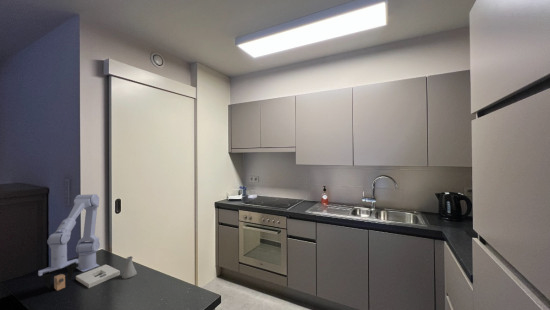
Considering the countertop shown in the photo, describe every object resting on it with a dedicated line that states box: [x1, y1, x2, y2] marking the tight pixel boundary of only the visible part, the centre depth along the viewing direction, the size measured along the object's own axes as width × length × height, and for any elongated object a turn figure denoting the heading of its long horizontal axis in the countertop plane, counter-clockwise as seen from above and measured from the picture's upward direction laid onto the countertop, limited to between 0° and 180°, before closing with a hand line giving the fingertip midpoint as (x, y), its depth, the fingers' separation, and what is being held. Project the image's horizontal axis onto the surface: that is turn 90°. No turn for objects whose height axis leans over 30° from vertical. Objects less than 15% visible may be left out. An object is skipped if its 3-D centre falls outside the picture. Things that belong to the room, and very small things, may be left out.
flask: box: [121, 256, 138, 280], centre depth 120 cm, size 7×7×10 cm
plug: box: [53, 273, 66, 291], centre depth 109 cm, size 5×3×6 cm, turn 61°
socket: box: [75, 264, 121, 289], centre depth 119 cm, size 16×14×2 cm
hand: (59, 283), depth 109 cm, fingers open, 7 cm apart
